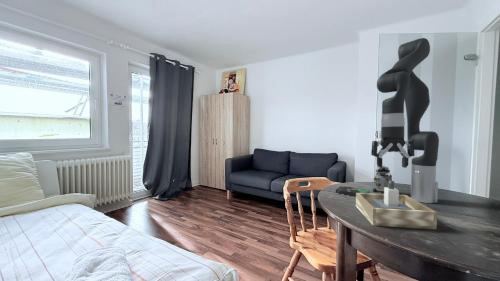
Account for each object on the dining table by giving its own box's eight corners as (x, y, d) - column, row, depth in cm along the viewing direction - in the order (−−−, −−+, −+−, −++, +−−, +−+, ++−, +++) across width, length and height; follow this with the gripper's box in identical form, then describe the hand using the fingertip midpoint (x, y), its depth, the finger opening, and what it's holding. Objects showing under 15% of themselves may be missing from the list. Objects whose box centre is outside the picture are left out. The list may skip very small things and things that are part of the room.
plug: (393, 212, 87) (394, 180, 86) (398, 215, 83) (398, 182, 82) (383, 211, 87) (384, 179, 87) (387, 215, 84) (388, 182, 83)
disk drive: (335, 194, 117) (366, 199, 107) (335, 189, 117) (366, 193, 107) (340, 190, 125) (369, 194, 116) (340, 185, 125) (369, 189, 116)
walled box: (405, 208, 93) (405, 195, 93) (436, 229, 73) (437, 212, 73) (355, 206, 97) (356, 193, 96) (372, 225, 77) (373, 208, 77)
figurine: (370, 194, 115) (370, 166, 115) (374, 189, 124) (375, 163, 123) (390, 197, 109) (391, 167, 109) (393, 192, 118) (394, 165, 118)
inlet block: (398, 210, 89) (398, 200, 89) (411, 219, 79) (412, 209, 79) (372, 208, 91) (372, 199, 91) (382, 217, 81) (382, 207, 81)
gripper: (407, 125, 86) (407, 165, 87) (369, 126, 88) (368, 165, 89) (419, 125, 78) (418, 169, 79) (376, 125, 81) (376, 168, 82)
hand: (392, 167), depth 84 cm, fingers open, 8 cm apart
